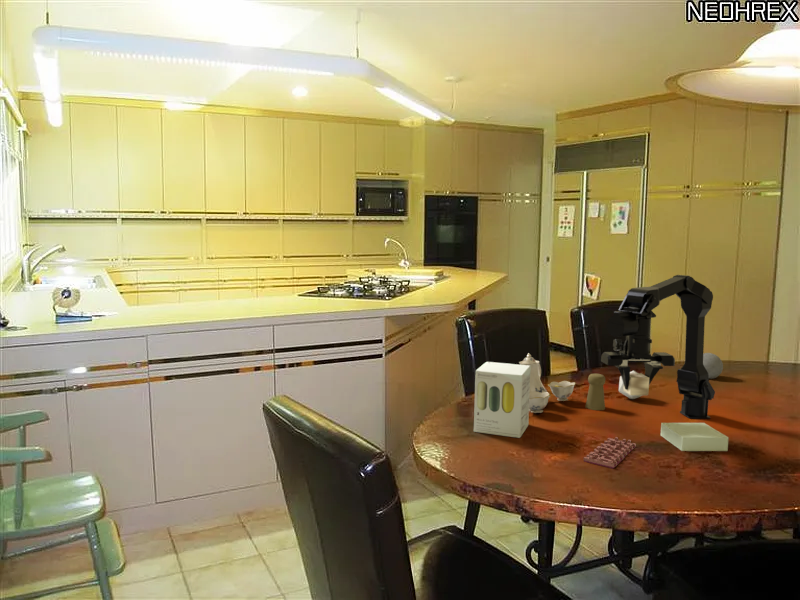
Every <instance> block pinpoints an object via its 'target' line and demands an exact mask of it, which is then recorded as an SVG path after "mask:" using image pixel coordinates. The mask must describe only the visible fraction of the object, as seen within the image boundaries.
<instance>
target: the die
mask: <svg viewBox="0 0 800 600" xmlns="http://www.w3.org/2000/svg"><path fill="white" fill-rule="evenodd" d="M630 373H638V372H637V371H636V370H632V371H631V370H630ZM623 387H624V383H623V380H622V377H621V375H620V376H619V382H618V392H619V393H620V394H622V395H623V396H625V397H627V398H628V399H630V400H635V399H638V398H640V397H643V396H644V395H629V394H628V393H626V392H625V391H623Z"/></svg>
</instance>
